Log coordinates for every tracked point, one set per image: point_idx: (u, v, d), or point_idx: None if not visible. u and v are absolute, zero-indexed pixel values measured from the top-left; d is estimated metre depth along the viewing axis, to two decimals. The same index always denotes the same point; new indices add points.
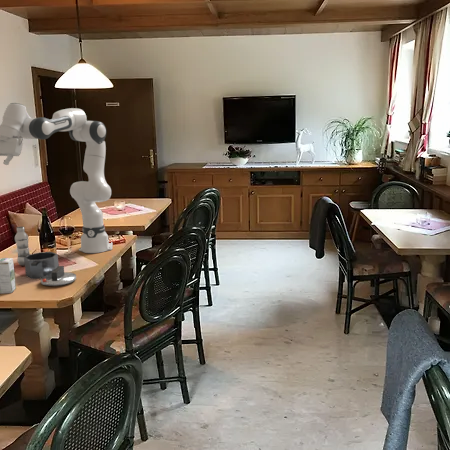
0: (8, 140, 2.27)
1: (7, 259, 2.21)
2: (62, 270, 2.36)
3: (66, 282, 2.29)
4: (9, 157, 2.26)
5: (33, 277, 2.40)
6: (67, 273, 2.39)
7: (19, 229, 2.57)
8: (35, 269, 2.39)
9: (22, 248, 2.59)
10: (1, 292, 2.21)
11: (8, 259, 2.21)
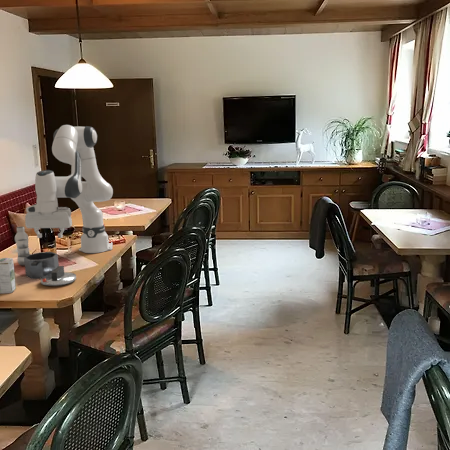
0: (55, 214, 2.25)
1: (7, 259, 2.21)
2: (62, 270, 2.36)
3: (66, 282, 2.29)
4: (63, 230, 2.28)
5: (33, 277, 2.40)
6: (67, 273, 2.39)
7: (19, 229, 2.57)
8: (35, 269, 2.39)
9: (22, 248, 2.59)
10: (1, 292, 2.21)
11: (8, 259, 2.21)
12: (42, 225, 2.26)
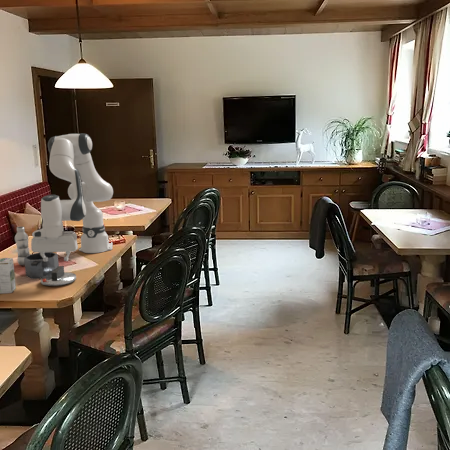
0: (61, 238, 2.28)
1: (7, 259, 2.21)
2: (62, 270, 2.36)
3: (66, 282, 2.29)
4: (69, 254, 2.31)
5: (33, 277, 2.40)
6: (67, 273, 2.39)
7: (19, 229, 2.57)
8: (35, 269, 2.39)
9: (22, 248, 2.59)
10: (1, 292, 2.21)
11: (8, 259, 2.21)
12: (48, 249, 2.29)
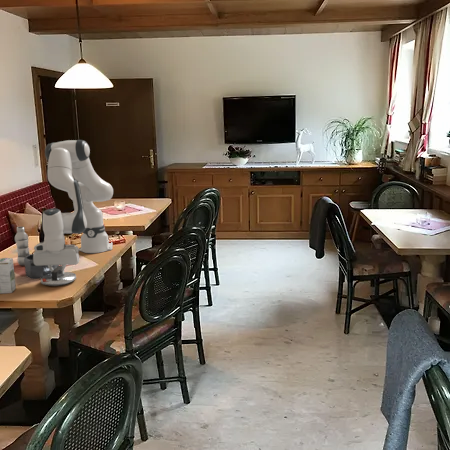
0: (63, 252, 2.29)
1: (7, 259, 2.21)
2: None
3: (66, 282, 2.28)
4: (64, 267, 2.32)
5: (33, 277, 2.40)
6: (67, 273, 2.39)
7: (19, 229, 2.57)
8: (35, 269, 2.39)
9: (22, 248, 2.59)
10: (1, 292, 2.21)
11: (8, 259, 2.21)
12: (50, 262, 2.30)
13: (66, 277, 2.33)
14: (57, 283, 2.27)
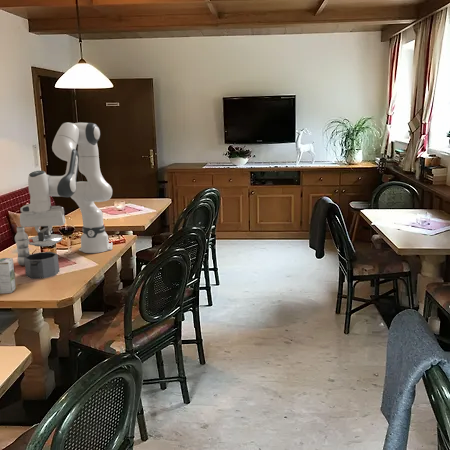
0: (48, 213, 2.35)
1: (7, 259, 2.21)
2: None
3: (52, 242, 2.34)
4: (50, 228, 2.38)
5: (33, 277, 2.40)
6: (54, 235, 2.45)
7: (19, 229, 2.57)
8: (35, 269, 2.39)
9: (22, 248, 2.59)
10: (1, 292, 2.21)
11: (8, 259, 2.21)
12: (36, 224, 2.36)
13: (52, 238, 2.39)
14: (43, 243, 2.32)
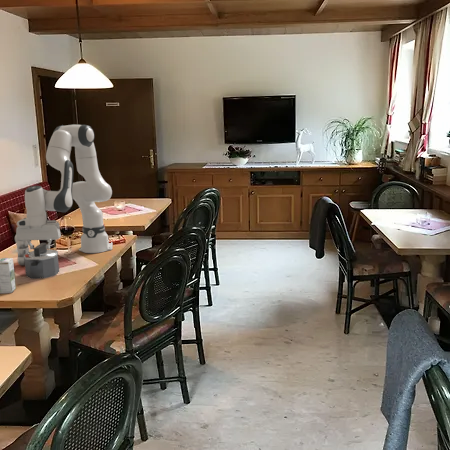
0: (44, 227, 2.40)
1: (7, 259, 2.21)
2: (45, 246, 2.48)
3: (48, 257, 2.40)
4: (50, 242, 2.43)
5: (33, 277, 2.40)
6: (50, 250, 2.51)
7: None
8: (35, 269, 2.39)
9: (22, 248, 2.59)
10: (1, 292, 2.21)
11: (8, 259, 2.21)
12: (32, 237, 2.41)
13: (48, 253, 2.44)
14: (39, 258, 2.38)
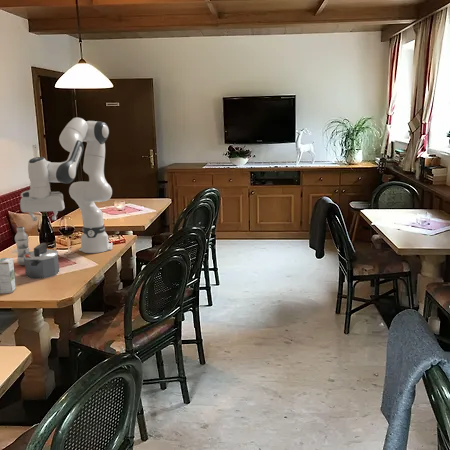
0: (48, 198, 2.40)
1: (7, 259, 2.21)
2: (45, 246, 2.48)
3: (48, 257, 2.40)
4: (56, 213, 2.43)
5: (33, 277, 2.40)
6: (50, 250, 2.51)
7: (19, 229, 2.57)
8: (35, 269, 2.39)
9: (22, 248, 2.59)
10: (1, 292, 2.21)
11: (8, 259, 2.21)
12: (36, 209, 2.41)
13: (48, 253, 2.44)
14: (39, 258, 2.38)
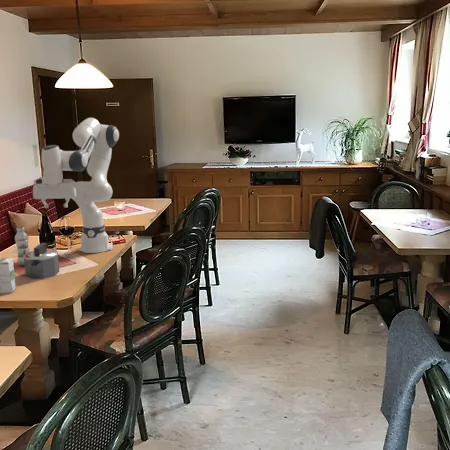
0: (60, 186, 2.44)
1: (7, 259, 2.21)
2: (45, 246, 2.48)
3: (48, 257, 2.40)
4: (68, 201, 2.47)
5: (33, 277, 2.40)
6: (50, 250, 2.51)
7: (19, 229, 2.57)
8: (35, 269, 2.39)
9: (22, 248, 2.59)
10: (1, 292, 2.21)
11: (8, 259, 2.21)
12: (49, 196, 2.45)
13: (48, 253, 2.44)
14: (39, 258, 2.38)
